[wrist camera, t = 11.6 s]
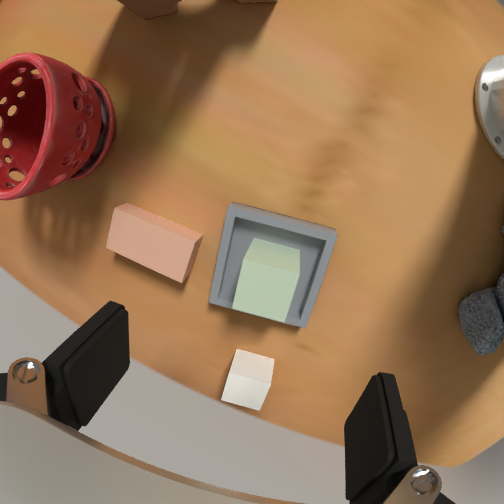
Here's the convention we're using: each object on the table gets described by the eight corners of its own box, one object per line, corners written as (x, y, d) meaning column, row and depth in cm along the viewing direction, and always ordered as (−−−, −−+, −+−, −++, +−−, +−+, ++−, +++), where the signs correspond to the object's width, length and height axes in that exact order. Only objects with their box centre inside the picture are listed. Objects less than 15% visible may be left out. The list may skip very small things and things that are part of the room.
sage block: (299, 249, 30) (299, 274, 24) (287, 291, 31) (284, 322, 26) (253, 237, 30) (243, 259, 25) (243, 279, 32) (231, 308, 26)
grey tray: (335, 229, 29) (337, 234, 27) (305, 318, 33) (305, 328, 31) (232, 201, 30) (228, 205, 28) (213, 293, 33) (208, 302, 31)
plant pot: (137, 166, 30) (61, 183, 19) (51, 191, 32) (-23, 214, 21) (122, 52, 26) (49, 24, 15) (38, 92, 29) (-35, 90, 17)
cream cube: (274, 358, 35) (270, 384, 31) (264, 385, 37) (259, 410, 32) (236, 348, 35) (228, 372, 31) (228, 375, 37) (220, 399, 33)
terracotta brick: (204, 233, 32) (195, 242, 29) (191, 271, 33) (181, 283, 30) (128, 202, 32) (114, 207, 29) (119, 239, 33) (105, 247, 30)
